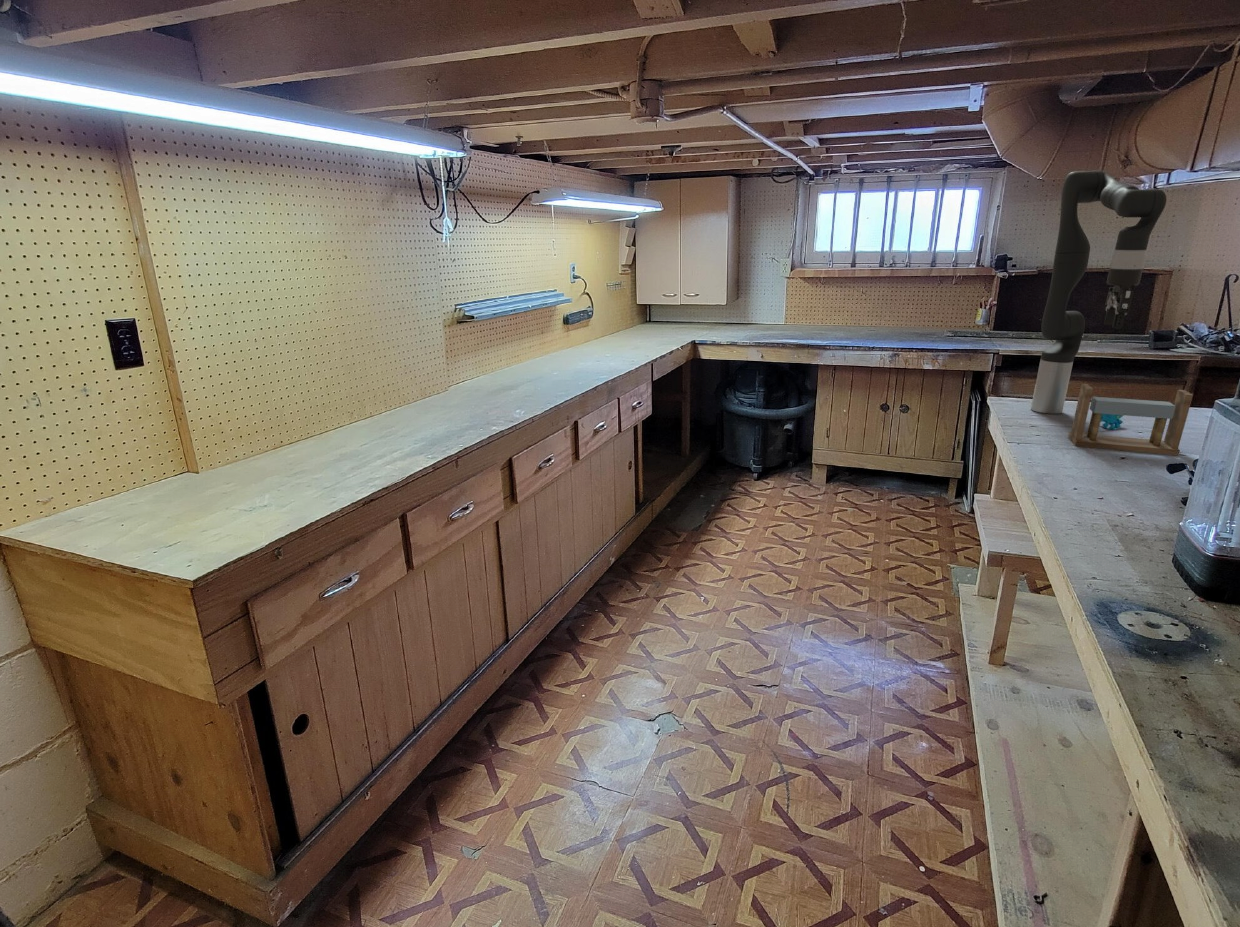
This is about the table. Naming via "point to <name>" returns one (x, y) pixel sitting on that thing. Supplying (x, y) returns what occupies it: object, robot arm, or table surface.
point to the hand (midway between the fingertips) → (1112, 326)
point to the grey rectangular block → (1132, 407)
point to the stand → (1130, 444)
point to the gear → (1111, 420)
